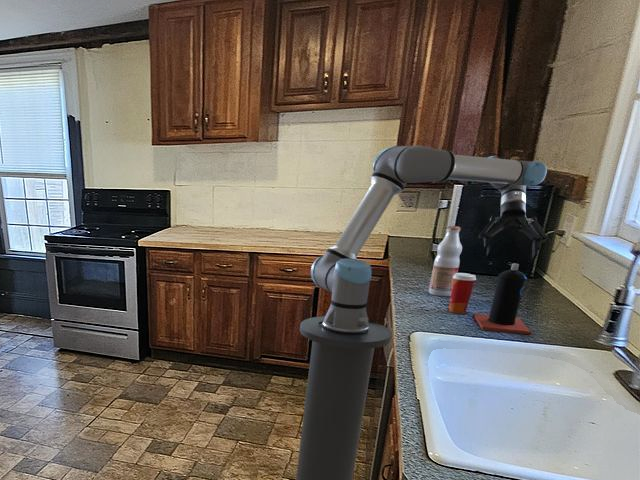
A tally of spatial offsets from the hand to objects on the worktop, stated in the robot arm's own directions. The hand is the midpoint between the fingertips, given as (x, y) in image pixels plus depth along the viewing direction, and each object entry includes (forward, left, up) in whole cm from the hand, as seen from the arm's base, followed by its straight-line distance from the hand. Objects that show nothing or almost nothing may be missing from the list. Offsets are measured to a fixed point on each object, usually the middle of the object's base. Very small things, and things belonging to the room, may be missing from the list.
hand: (511, 255), depth 181 cm
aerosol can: (0, -8, -22) cm, 23 cm away
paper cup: (-12, +5, -23) cm, 26 cm away
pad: (0, -8, -23) cm, 24 cm away
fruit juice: (-15, +34, -23) cm, 44 cm away
